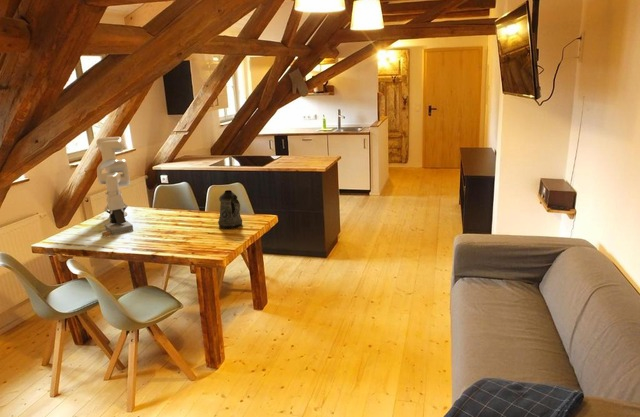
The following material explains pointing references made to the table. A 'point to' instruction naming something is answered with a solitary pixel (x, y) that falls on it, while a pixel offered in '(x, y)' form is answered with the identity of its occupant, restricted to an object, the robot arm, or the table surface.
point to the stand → (119, 228)
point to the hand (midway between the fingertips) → (117, 218)
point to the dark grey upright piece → (229, 211)
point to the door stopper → (117, 217)
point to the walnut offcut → (106, 233)
